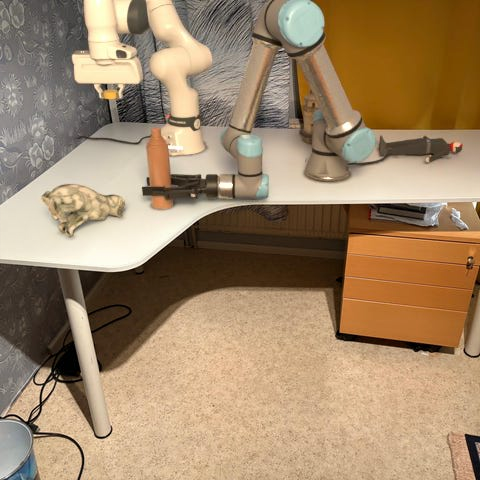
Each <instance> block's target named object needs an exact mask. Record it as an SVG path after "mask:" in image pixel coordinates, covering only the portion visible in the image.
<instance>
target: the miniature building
mask: <svg viewBox="0 0 480 480" xmlns="http://www.w3.org/2000/svg"><path fill="white" fill-rule="evenodd" d="M302 98H303V105H301V106H302V109H303V114H302V115H303V124H302V127H300V129H299V132H298V134H299V136H300V137H302V139H303V141H305V142H307V143H309V144H312V135H313V118H314V113H315V111H317V110H319V109H320V108H319V106H318V104H317V102H316V100H315V98H314V96H313V93H312V91H311V89H310V88H309V93H307V94H306V95H304V96H303V97H302Z"/></svg>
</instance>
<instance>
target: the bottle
mask: <svg viewBox="0 0 480 480" xmlns="http://www.w3.org/2000/svg"><path fill="white" fill-rule="evenodd" d="M161 128H162V127H159V126H153V127H151V128H150V135H152V136H151V137H150V138H148V140H147V141H146V145H145V148H146V149H145V150H146V158H147V159H146V160H147V169H148V170H147V171H148V177H149V180H150V186H149V187H163V186H165V188H169V187H173V185H172V184H171V174H172V172H171V160H170V155H169V146H168V143H167V141H166V140H165V139H164V137H163V136H162V135H161ZM150 197H151V198H150V199H151V206H152V208H154V209H156V210H166V209H170V208H171V207H173V206H174V199H168V200H166V199H165V197H164V196H150Z"/></svg>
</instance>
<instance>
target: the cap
mask: <svg viewBox="0 0 480 480" xmlns="http://www.w3.org/2000/svg"><path fill="white" fill-rule="evenodd" d="M103 91H104V98H103V99H105V100H115V99H117V98H116V93H117V92H118V90H117V89H105V90H103Z"/></svg>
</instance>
